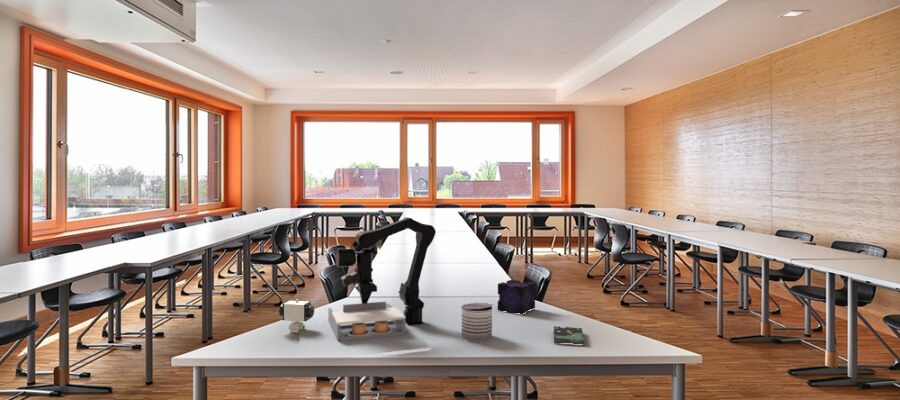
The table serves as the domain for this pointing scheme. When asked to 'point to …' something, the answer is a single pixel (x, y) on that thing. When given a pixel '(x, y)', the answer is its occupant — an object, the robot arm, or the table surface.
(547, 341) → the table surface
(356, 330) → the orange grey domed knob
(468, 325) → the can
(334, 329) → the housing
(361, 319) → the lid
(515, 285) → the energy cube
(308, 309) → the pneumatic valve
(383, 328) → the orange grey rounded piece
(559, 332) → the disk drive
